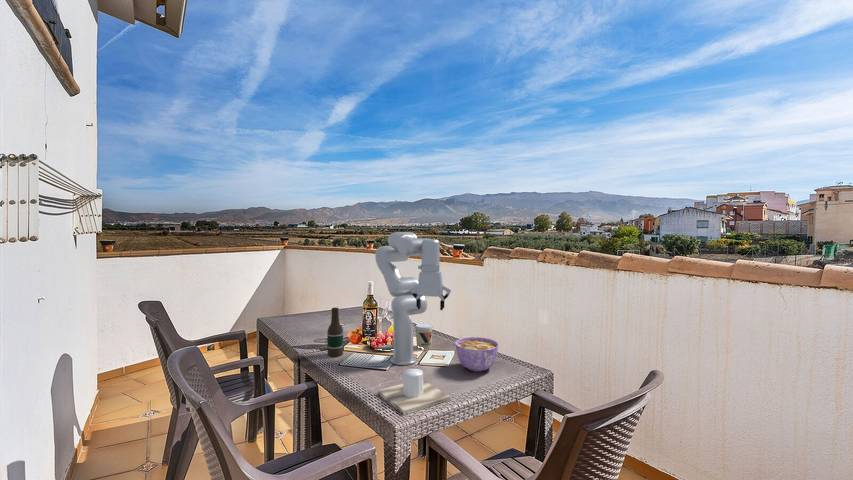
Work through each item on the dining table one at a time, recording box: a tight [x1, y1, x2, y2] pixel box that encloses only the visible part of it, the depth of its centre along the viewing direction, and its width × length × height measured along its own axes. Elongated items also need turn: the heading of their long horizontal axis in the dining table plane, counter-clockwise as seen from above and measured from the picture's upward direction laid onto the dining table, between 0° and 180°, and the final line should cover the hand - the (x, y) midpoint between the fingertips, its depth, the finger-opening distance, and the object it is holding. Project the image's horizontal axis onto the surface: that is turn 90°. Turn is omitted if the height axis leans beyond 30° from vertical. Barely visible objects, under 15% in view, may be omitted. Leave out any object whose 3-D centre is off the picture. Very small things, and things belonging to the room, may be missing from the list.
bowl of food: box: [455, 336, 500, 373], centre depth 175 cm, size 20×20×12 cm
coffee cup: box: [415, 323, 434, 351], centre depth 205 cm, size 9×9×12 cm
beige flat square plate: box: [377, 379, 451, 413], centre depth 145 cm, size 20×20×7 cm
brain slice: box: [367, 341, 394, 350], centre depth 205 cm, size 20×17×3 cm
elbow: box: [402, 368, 424, 398], centre depth 147 cm, size 7×11×8 cm
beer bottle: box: [326, 307, 344, 358], centre depth 193 cm, size 8×8×24 cm
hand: (430, 309), depth 161 cm, fingers open, 9 cm apart
